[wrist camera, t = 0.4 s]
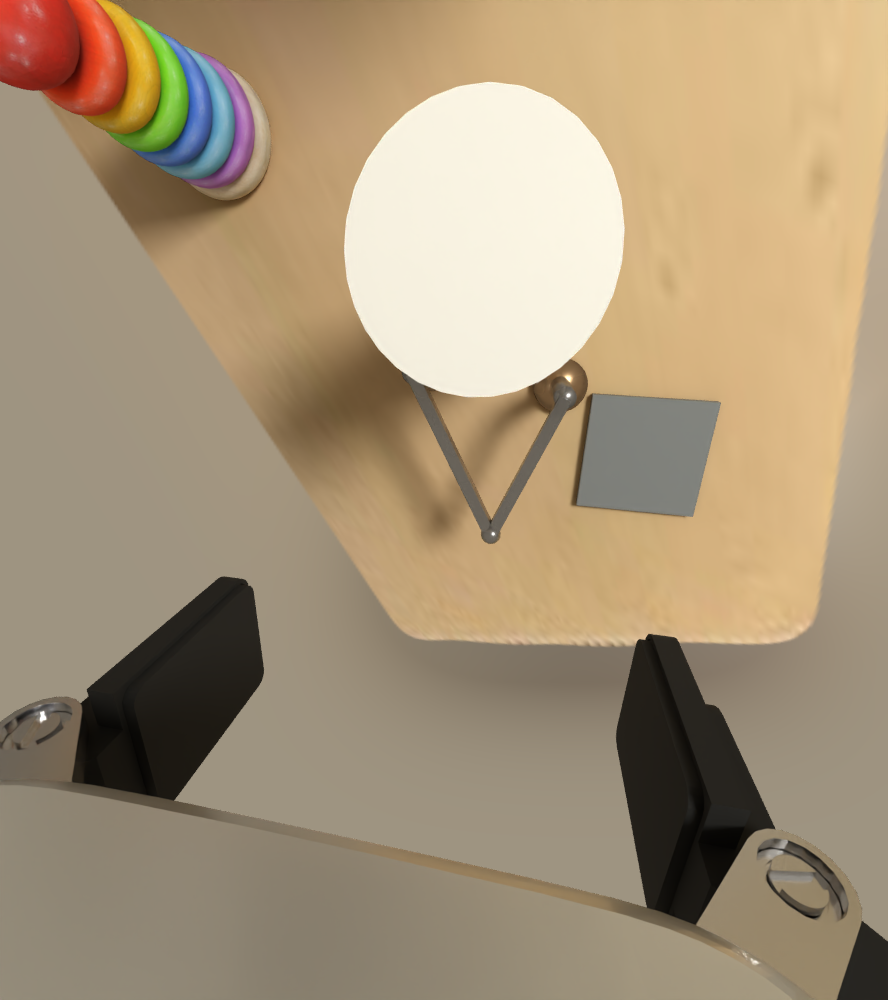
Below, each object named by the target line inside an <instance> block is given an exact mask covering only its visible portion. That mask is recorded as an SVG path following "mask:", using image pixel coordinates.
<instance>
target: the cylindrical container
mask: <svg viewBox="0 0 888 1000" xmlns="http://www.w3.org/2000/svg"><path fill="white" fill-rule="evenodd" d="M624 230H625V229H624V220H623V210H622V201H621V195H620V192H619V189H618V185H617V182H616V179H615V175H614V172H613V169H612V167H611V165H610V163H609V161H608V159H607V157H606V155H605V153H604V151H603V150H602V148H601V146H600V144H599V142H598V141H597V139H596V138H595V137H594V136H593V135H592V133H591V132H590V131H589V130H588V129H587V127H586V126H585V125H584V124H583V123H582V121H581V120H580V119H579V118H578V117H577V116H576V115H574V114H573V113H572V112H570V111H569V110H568V109H566V108H565V107H564V106H562V105H561V104H560V103H558V102H557V101H555V100H554V99H553V98H551V97H549V96H546V95H544V94H541V93H539V92H536V91H534V90H531V89H529V88H526V87H524V86H519V85H511V84H503V83H495V82H486V83H478V84H471V85H464V86H458V87H455V88H453V89H450V90H448V91H445V92H443V93H440V94H437V95H435V96H432V97H430V98H429V99H427V100H425V101H424V102H422V103H421V104H419V105H418V106H416V107H415V108H413V109H412V110H410V111H409V112H407V113H406V114H405V115H404V116H403V117H402V118H401V119H400V120H399V121H398V122H397V123H396V124H395V125H394V126H393V127H392V128H391V129H389V130H388V131H387V132H386V133H385V135H384V136H383V138H382V139H381V141H380V142H379V143H378V145H377V146H376V148H375V149H374V150H373V152H372V153H371V155H370V156H369V158H368V159H367V161H366V163H365V166H364V168H363V170H362V172H361V174H360V177H359V179H358V181H357V183H356V185H355V187H354V191H353V195H352V199H351V203H350V207H349V211H348V215H347V218H346V231H345V245H344V254H345V264H346V274H347V281H348V285H349V289H350V292H351V296H352V299H353V303H354V307H355V309H356V311H357V313H358V315H359V317H360V319H361V322H362V324H363V326H364V328H365V330H366V331H367V333H368V334H369V336H370V337H371V339H372V340H373V342H374V343H375V345H376V346H377V347H378V349H379V350H380V351H381V352H382V353H383V354H384V355H385V356H386V357H387V358H388V359H389V360H390V361H391V362H392V363H393V364H394V365H395V366H396V367H397V368H398V369H399V370H401V371H402V372H404V373H405V374H407V375H408V376H410V377H411V378H412V379H414V380H415V381H417V382H419V383H421V384H423V385H426V386H428V387H430V388H433V389H435V390H438V391H440V392H443V393H448V394H454V395H459V396H464V397H493V396H497V395H502V394H506V393H511V392H516V391H518V390H521V389H523V388H525V387H528V386H530V385H533V384H535V383H537V382H539V381H541V380H543V379H544V378H546V377H547V376H549V375H550V374H552V373H553V372H555V371H556V370H558V369H559V368H561V367H562V366H563V365H564V364H565V363H566V362H567V361H568V360H569V359H570V358H571V357H572V356H574V355H575V354H576V353H577V352H578V351H579V350H580V349H581V348H582V346H583V345H584V344H585V342H586V341H587V340H588V338H589V337H590V336H591V334H592V333H593V331H594V330H595V329H596V327H597V326H598V325H599V323H600V321H601V319H602V317H603V315H604V313H605V311H606V309H607V306H608V304H609V302H610V300H611V298H612V296H613V293H614V290H615V286H616V282H617V279H618V275H619V271H620V268H621V264H622V255H623V242H624Z"/></svg>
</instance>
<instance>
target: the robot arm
mask: <svg viewBox="0 0 888 1000" xmlns="http://www.w3.org/2000/svg"><path fill="white" fill-rule="evenodd" d="M263 674H264V667H263V659H262V651H261V644H260V637H259V629H258V621H257V614H256V607H255V599H254V591H253V588H252V587H251V586H248V583H247V581H246V580H244V579H239V578H231V577H220V578H218V579H217V580H216V581H215V582H214V583H212V584H211V585H210V586H209V587H208V588H207V589H205V590H204V591H203V592H202V593H201V594H199V595H198V596H197V597H196V598H195V599H193V600H192V601H191V602H190V603H189V604H188V605H186V606H185V607H184V608H183V609H182V610H180V611H179V612H178V613H177V614H176V615H174V616H173V617H172V618H171V619H170V620H168V621H167V622H166V623H165V624H164V625H163V626H161V627H160V628H159V629H158V630H157V631H155V632H154V633H153V634H152V635H151V636H149V637H148V638H147V639H146V640H145V641H144V642H142V643H141V644H140V645H139V646H138V647H136V648H135V649H134V650H133V651H132V652H130V653H129V654H128V655H127V656H126V657H125V658H123V659H122V660H121V661H120V662H119V663H118V664H116V665H115V666H114V667H113V668H111V669H110V670H109V671H108V672H107V673H105V675H103V676H102V677H101V678H100V679H98V680H97V681H96V682H95V683H94V684H92V685H91V686H90V687H89V688H88V689H87V692H88V696H89V697H87V698H86V699H85V700H84V701H83V702H82V703H79V702H78V701H77V700H76V699H73V698H70V697H54V698H48V699H43V700H40V701H37V702H35V703H32V704H29V705H27V706H25V707H23V708H21V709H19V710H17V711H15V712H13V713H12V714H10V715H9V716H8V717H6V718H5V719H3V720H2V721H1V722H0V1000H888V941H886V940H885V939H883V937H882V936H880V935H879V934H878V933H876V932H875V931H874V930H873V929H871V928H870V927H869V926H868V925H867V924H865V923H864V922H863V921H862V907H861V904H860V901H859V898H858V895H857V892H856V890H855V889H854V887H853V886H852V884H851V882H850V881H849V879H848V878H847V876H846V875H845V874H844V873H843V872H842V870H841V869H840V868H839V867H838V866H837V865H836V864H835V863H834V861H833V860H832V859H831V858H829V857H828V856H827V855H826V854H824V853H823V852H822V851H821V850H819V849H818V848H817V847H816V846H814V845H813V844H811V843H809V842H807V841H806V840H804V839H802V838H800V837H799V836H796V835H794V834H791V833H788V832H785V831H783V830H776V829H775V827H774V825H773V823H772V821H771V818H770V816H769V814H768V812H767V810H766V807H765V806H764V803H763V801H762V799H761V797H760V794H759V792H758V790H757V788H756V786H755V784H754V782H753V779H752V777H751V775H750V773H749V771H748V769H747V766H746V764H745V762H744V760H743V758H742V756H741V753H740V751H739V749H738V747H737V745H736V743H735V741H734V738H733V736H732V734H731V732H730V730H729V727H728V725H727V723H726V721H725V719H724V717H723V715H722V713H721V712H720V710H719V708H717V707H716V706H714V705H708V704H705V702H704V700H703V698H702V695H701V693H700V690H699V688H698V686H697V684H696V681H695V679H694V677H693V674H692V672H691V670H690V667H689V665H688V663H687V660H686V658H685V656H684V653H683V651H682V649H681V646H680V644H679V642H678V640H677V638H675V637H668V636H660V635H653V634H648V635H647V637H646V640H641V639H639V640H638V641H637V644H636V647H635V652H634V656H633V661H632V665H631V669H630V674H629V678H628V683H627V687H626V691H625V695H624V700H623V704H622V709H621V713H620V717H619V721H618V726H617V733H616V742H617V750H618V755H619V760H620V766H621V771H622V777H623V782H624V787H625V792H626V798H627V803H628V808H629V814H630V819H631V825H632V830H633V835H634V841H635V846H636V852H637V857H638V862H639V868H640V873H641V879H642V884H643V889H644V895H645V900H646V905H647V908H646V907H642V906H639V905H635V904H632V903H629V902H625V901H622V900H619V899H615V898H611V897H607V896H603V895H599V894H595V893H590V892H586V891H582V890H578V889H574V888H570V887H565V886H561V885H557V884H553V883H549V882H545V881H541V880H537V879H532V878H528V877H524V876H520V875H515V874H511V873H506V872H501V871H497V870H493V869H488V868H483V867H479V866H475V865H470V864H465V863H461V862H456V861H452V860H448V859H443V858H438V857H434V856H430V855H425V854H421V853H416V852H411V851H407V850H403V849H398V848H393V847H388V846H384V845H379V844H375V843H370V842H365V841H361V840H357V839H352V838H347V837H342V836H338V835H333V834H329V833H324V832H320V831H315V830H310V829H306V828H301V827H296V826H292V825H287V824H282V823H277V822H273V821H268V820H264V819H259V818H254V817H249V816H245V815H240V814H235V813H230V812H226V811H221V810H216V809H211V808H206V807H202V806H196V805H192V804H187V803H182V802H178V801H174V800H175V799H176V797H177V796H178V795H179V793H180V792H181V791H182V789H183V788H184V786H185V785H186V784H187V782H188V781H189V780H190V778H191V777H192V776H193V774H194V773H195V772H196V770H197V769H198V767H199V766H200V765H201V763H202V762H203V761H204V759H205V758H206V757H207V755H208V754H209V753H210V751H211V750H212V749H213V747H214V746H215V745H216V743H217V742H218V740H219V739H220V738H221V736H222V735H223V734H224V732H225V731H226V730H227V728H228V727H229V726H230V724H231V723H232V722H233V720H234V718H236V716H237V715H238V713H239V712H240V711H241V709H242V708H243V707H244V705H245V704H246V703H247V701H248V700H249V698H250V697H251V696H252V694H253V693H254V692H255V690H256V689H257V688H258V686H259V685H260V683H261V681H262V678H263Z"/></svg>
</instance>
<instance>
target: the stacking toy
mask: <svg viewBox="0 0 888 1000" xmlns="http://www.w3.org/2000/svg"><path fill="white" fill-rule="evenodd" d="M0 81H1V82H3V83H6V84H8V85H11V86H14V87H17V88H21V89H26V90H33V91H34V90H39V91H40V90H41V91H42V92H43V93H44V94H45V95H46V96H47V97H48V98H49V99H51V100H52V101H53V102H54V103H56V104H57V105H59V106H60V107H62V108H64V109H66V110H68V111H70V112H72V113H75V114H78V115H82V116H83V117H84V118H85V119H87V120H88V121H89V122H91V123H92V124H93V125H95V126H97V127H99V128H101V129H103V130H105V131H106V132H107V133H109V134H110V135H111V136H112V137H113V138H114V139H115V140H117V141H118V142H120V143H121V144H123V145H125V146H126V147H129V148H131V149H132V150H133V151H134V152H136V153H137V154H138V155H140V156H141V157H143V158H144V159H146V160H147V161H149V162H152V163H154V164H156V165H157V166H158V167H160V168H161V169H162V170H164V171H165V172H167V173H169V174H171V175H173V176H176V177H179V178H181V179H182V180H184V181H186V182H188V183H189V184H190V185H191V186H193V187H194V188H195V189H196V190H198V191H199V192H201V193H203V194H205V195H207V196H209V197H211V198H214V199H219V200H234V199H238V198H241V197H243V196H245V195H247V194H249V193H250V192H251V191H253V190H254V189H255V188H256V187H257V186H258V184H259V183H260V182H261V180H262V179H263V177H264V175H265V173H266V170H267V167H268V164H269V160H270V155H271V132H270V126H269V121H268V117H267V114H266V112H265V109H264V107H263V104H262V102H261V100H260V99H259V97H258V95H257V94H256V92H255V91H254V89H253V88H252V87H251V86H250V84H249V83H248V82H247V81H246V80H245V79H244V78H242V77H241V76H240V75H239V74H237V73H236V72H234V71H233V70H231V69H229V68H227V67H225V66H224V65H223V64H222V63H220V62H219V61H217V60H216V59H214V58H213V57H211V56H208V55H206V54H204V53H200V52H196V51H194V50H192V49H190V48H188V47H185V46H182V45H181V44H180V43H179V42H177V41H176V40H174V39H173V38H171V37H170V36H168V35H166V34H163V33H161V32H158V31H156V30H155V29H154V28H153V27H151V26H150V25H148V24H147V23H145V22H143V21H141V20H139V19H136V18H134V17H132V16H131V15H129V14H128V13H127V12H126V11H125V10H123V9H122V8H121V7H119V6H118V5H116V4H114V3H112V2H110V1H108V0H0Z"/></svg>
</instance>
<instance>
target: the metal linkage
mask: <svg viewBox="0 0 888 1000" xmlns="http://www.w3.org/2000/svg"><path fill="white" fill-rule="evenodd" d="M402 375H403V378H404V379H405V381H407V382H408V383H409V384H410V386H411V388H412V390H413V392H414V394H415V396H416V398H417V400H418V402H419V404H420V406H421V408H422V410H423V413H424V415H425V417H426V419H427V421H428V423H429V425H430V427H431V429H432V431H433V433H434V435H435V437H436V439H437V441H438V443H439V445H440V447H441V449H442V451H443V453H444V455H445V457H446V459H447V461H448V464H449V466H450V468H451V470H452V472H453V474H454V476H455V478H456V480H457V482H458V484H459V486H460V488H461V490H462V492H463V494H464V496H465V498H466V500H467V502H468V504H469V506H470V508H471V510H472V512H473V515H474V517H475V519H476V521H477V523H478V525H479V527H480V529H481V537H482V539H483V541H484V542H486V543H488V544H493V543H496V542H497V541H498V540H499V538H500V530H501V528H502V526H503V524H504V522H505V521H506V519H507V517H508V515H509V513H510V512H511V510H512V508H513V506H514V504H515V503H516V501H517V499H518V497H519V495H520V494H521V492H522V490H523V488H524V486H525V485H526V483H527V481H528V479H529V477H530V476H531V474H532V472H533V470H534V468H535V467H536V465H537V463H538V461H539V459H540V458H541V456H542V454H543V452H544V450H545V449H546V447H547V445H548V443H549V441H550V440H551V438H552V436H553V434H554V432H555V431H556V429H557V427H558V425H559V423H560V422H561V420H562V418H563V416H564V414H565V413H566V411H568V410H571V409H573V408H574V407H576V406H577V405H578V404H579V403H580V402H581V401H582V400H583V398H584V396H585V394H586V392H587V387H588V380H587V376H586V373H585V371H584V370H583V368H582V367H581V366H580V365H579V364H578V363H577V362H575V361H573V360H571V359H569V360H568V361H567V362H566V363H565V364H564V365H563V366H562V367H561V368H559V369H558V370H556V371H555V372H553V373H552V374H550V375H549V376H547V377H546V378H544V379H543V380H541V381H539V382H537V383H535V384H534V394H535V397H536V399H537V401H538V402H539V403H540V404H541V405H542V406H543V407H544V408H546V409H548V410H550V413H549V415H548V417H547V418H546V420H545V422H544V424H543V426H542V428H541V429H540V431H539V433H538V435H537V437H536V439H535V441H534V442H533V444H532V446H531V448H530V450H529V452H528V453H527V455H526V457H525V459H524V461H523V463H522V464H521V466H520V468H519V470H518V472H517V474H516V476H515V477H514V479H513V481H512V483H511V485H510V487H509V488H508V490H507V492H506V494H505V496H504V498H503V500H502V501H501V503H500V505H499V507H498V509H497V511H496V512H495V514H494V516H493V518H492V520H491V518H490V516H489V514H488V512H487V510H486V508H485V506H484V504H483V502H482V499H481V497H480V495H479V493H478V491H477V489H476V487H475V485H474V483H473V481H472V479H471V477H470V475H469V472H468V470H467V468H466V466H465V464H464V462H463V460H462V458H461V456H460V454H459V452H458V450H457V448H456V445H455V443H454V441H453V439H452V437H451V435H450V433H449V431H448V429H447V427H446V425H445V423H444V421H443V418H442V416H441V414H440V412H439V410H438V408H437V406H436V404H435V402H434V400H433V398H432V396H431V393H430V391H435V389H433V388H430V387H428V386H426V385H423V384H421V383H419V382H417V381H415V380H414V379H412V378H411V377H410V376H408V375H407V374H405V373H404V372H402ZM429 390H430V391H429Z"/></svg>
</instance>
